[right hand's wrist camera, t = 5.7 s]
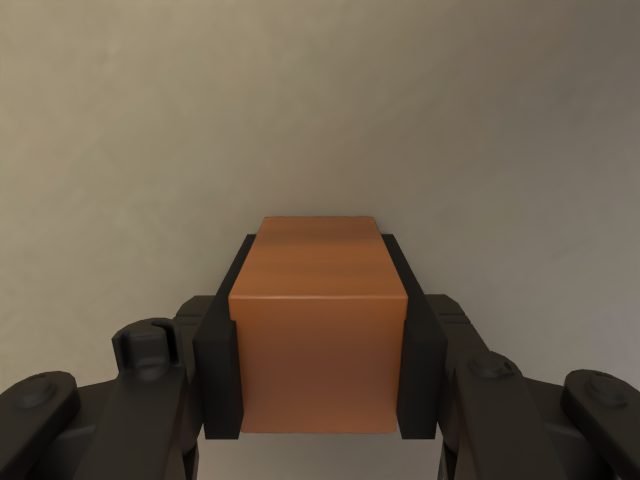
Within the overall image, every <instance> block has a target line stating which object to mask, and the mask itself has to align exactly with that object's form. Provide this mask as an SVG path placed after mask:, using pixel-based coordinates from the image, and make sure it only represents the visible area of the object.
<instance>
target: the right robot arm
mask: <svg viewBox="0 0 640 480" xmlns="http://www.w3.org/2000/svg"><path fill="white" fill-rule="evenodd" d="M256 236H257V234H247V236H246V238H245V240H244V242H243V244H242V246H241V248H240V250H239V252H238V254H237V255H236V257H235V259H234V261H233V263H232V265H231V267H230V269H229V271H228V273H227V275H226V276H225V278H224V280H223V282H222V284H221V286H220V288H219V290H218V292H217V294H216V296H194V297H193V298H191V299H190V300H188V301H187V302H185V303H184V304H183V305H182V306H181V308H180V309H179V311H178V312H177V314H176V317H174V318H173V320H171V319H167V318H150V319H145V320H140V321H137V322H135V323H132V324H129V325H127V326H126V327H124V328H122V329H121V330H119V331H118V332H117V333H116V334H115V335H114V336H113V338H112V344H113V348H114V352H115V357H116V361H117V366H118V370H119V374H118V376H117V378H116V379H114V380H110V381H107V382H102V383H98V384H93V385H88V386H84V387H79V388H77V384H76V381H75V378H74V377H73V376H72V375H71V374H70V373H67V372H62V371H53V372H44V373H40V374H38V375H37V374H36V375H33V376H30V377H28V378H26V379H24V380H22V381H20V382H18V383H16V384H14V385H13V386H11V387H10V388H9V389H7V390H6V391H4V392H3V393H2V394H1V395H0V480H197V471H198V462H199V451H198V444H197V438H198V435H199V432H200V430H201V427H202V424H204V432H205V439H238V438H239V433H240V429H241V425H242V421H243V417H244V408H243V396H242V385H241V374H240V362H239V351H238V339H237V328H236V320H231V319H230V311H229V300H228V297H229V294H230V292H231V290H232V288H233V286H234V283H235V281H236V279H237V277H238V275H239V273H240V270H241V268H242V266H243V264H244V262H245V260H246V257H247V255H248V253H249V251H250V249H251V247H252V244H253V242H254V240H255V238H256ZM381 237H382V239H383V241H384V243H385V246H386V248H387V250H388V252H389V255H390V257H391V259H392V262H393V264H394V266H395V268H396V271H397V273H398V275H399V277H400V280H401V282H402V284H403V287H404V289H405V291H406V293H407V296H408V305H407V316H406V320H404V331H403V342H402V353H401V365H400V376H399V387H398V399H397V410H396V415H397V419H398V424H399V428H400V432H401V436H402V439H435V434H436V427H437V421H438V424H439V427H440V430H441V432H442V435H443V444H442V451H441V457H440V464H439V471H438V478H437V480H443V479H444V480H640V392H639V391H638V390H636V389H635V388H634V387H632V386H631V385H629V384H628V383H626V382H625V381H623V380H620V379H618V378H616V377H614V376H612V375H610V374H607V373H602V372H599V371H595V370H585V369H581V370H575V371H571V372H570V373H569V374H568V375H567V376H566V379H565V382H564V386H560V385H555V384H551V383H546V382H541V381H536V380H533V379H529V378H525V377H523V375H522V373H521V371H520V370H519V369H518V367H517V366H516V364H514V363H513V362H512V361H510V360H509V359H508V358H506V357H505V356H502V355H500V354H498V353H495V352H493V351H489V349H488V348H487V346H486V345H485V343H484V342H483V340H482V339H481V337H480V336H479V334H478V333H477V331H476V330H475V328H474V326H473V325H472V324H471V323H470V320H469V319H468V317H467V316H466V315H465V313H464V311H463V310H462V308H461V307H460V305H459V304H458V303H457V302H456V301H454V300H453V299H451V298H450V297H448V296H447V295H445V294H424V293H423V291H422V289H421V287H420V285H419V283H418V281H417V280H416V278H415V276H414V274H413V272H412V270H411V268H410V266H409V264H408V262H407V260H406V259H405V257H404V255H403V253H402V251H401V249H400V247H399V245H398V243H397V241H396V239H395V238H394V236H393V234H381Z"/></svg>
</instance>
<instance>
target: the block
mask: <svg viewBox="0 0 640 480" xmlns="http://www.w3.org/2000/svg"><path fill="white" fill-rule="evenodd" d="M228 300H229V311H230V319H231V320H236V328H237V339H238V351H239V362H240V374H241V385H242V396H243V408H244V417H243V421H242V425H241V432H243V433H395V431H396V426H397V415H396V410H397V399H398V387H399V376H400V365H401V353H402V342H403V331H404V320H406V316H407V305H408V296H407V293H406V291H405V289H404V287H403V284H402V282H401V280H400V277H399V275H398V273H397V271H396V268H395V266H394V264H393V262H392V259H391V257H390V255H389V252H388V250H387V248H386V246H385V243H384V241H383V239H382V237H381V234H380V232H379V230H378V227H377V225H376V223H375V221H374V218H372V217H266V218H264V221H263V223H262V225H261V227H260V229H259V231H258V234H257V236H256V238H255V240H254V242H253V244H252V247H251V249H250V251H249V253H248V255H247V257H246V260H245V262H244V264H243V266H242V268H241V270H240V273H239V275H238V277H237V279H236V281H235V283H234V286H233V288H232V290H231V292H230V294H229V297H228Z"/></svg>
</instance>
